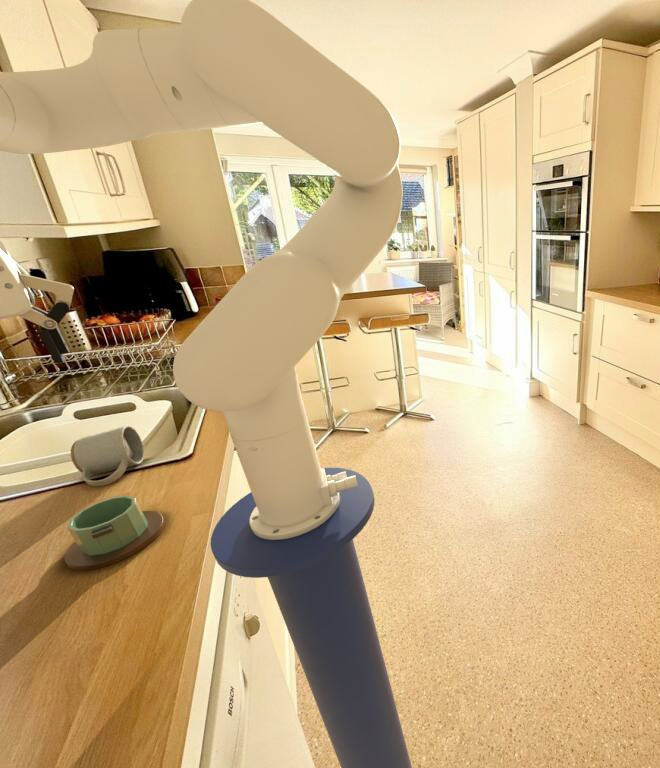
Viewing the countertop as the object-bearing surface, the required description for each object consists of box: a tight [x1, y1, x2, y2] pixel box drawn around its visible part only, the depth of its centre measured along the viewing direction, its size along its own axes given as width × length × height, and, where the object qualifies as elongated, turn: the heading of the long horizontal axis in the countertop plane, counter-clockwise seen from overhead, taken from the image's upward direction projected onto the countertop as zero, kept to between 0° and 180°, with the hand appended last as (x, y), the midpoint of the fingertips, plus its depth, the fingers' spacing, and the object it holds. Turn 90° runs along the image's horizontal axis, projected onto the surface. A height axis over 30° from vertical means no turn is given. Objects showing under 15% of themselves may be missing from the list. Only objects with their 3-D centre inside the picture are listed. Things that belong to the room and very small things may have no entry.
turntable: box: [63, 510, 166, 571], centre depth 61 cm, size 11×11×1 cm
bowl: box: [66, 494, 147, 556], centre depth 59 cm, size 8×7×4 cm
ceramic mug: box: [70, 425, 145, 487], centre depth 76 cm, size 11×8×8 cm
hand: (0, 372), depth 46 cm, fingers open, 9 cm apart
